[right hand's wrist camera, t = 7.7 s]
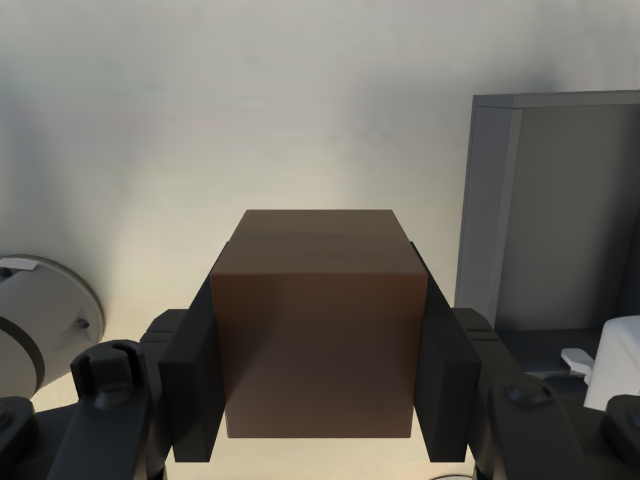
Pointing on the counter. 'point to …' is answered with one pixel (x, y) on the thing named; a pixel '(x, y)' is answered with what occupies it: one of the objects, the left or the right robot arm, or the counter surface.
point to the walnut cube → (319, 324)
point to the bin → (552, 223)
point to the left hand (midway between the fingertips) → (562, 383)
